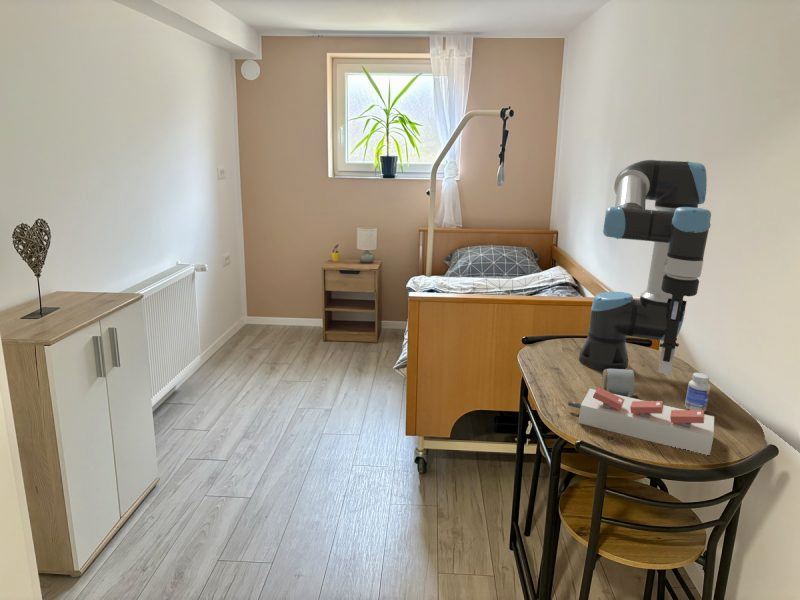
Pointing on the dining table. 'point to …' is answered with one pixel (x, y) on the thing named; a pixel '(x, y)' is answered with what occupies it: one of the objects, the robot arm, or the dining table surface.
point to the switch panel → (647, 424)
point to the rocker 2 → (647, 407)
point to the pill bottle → (698, 392)
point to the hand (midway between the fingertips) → (664, 372)
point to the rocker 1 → (608, 398)
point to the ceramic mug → (618, 381)
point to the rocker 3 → (687, 416)
